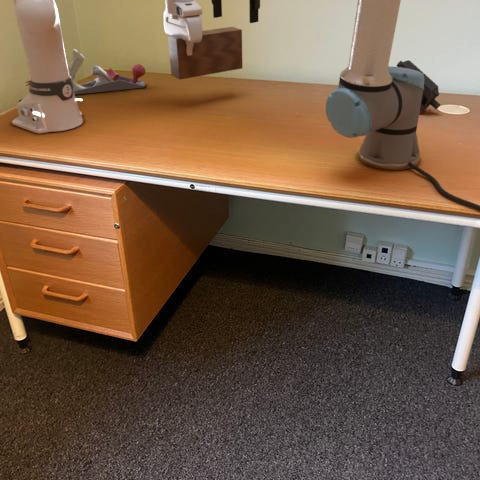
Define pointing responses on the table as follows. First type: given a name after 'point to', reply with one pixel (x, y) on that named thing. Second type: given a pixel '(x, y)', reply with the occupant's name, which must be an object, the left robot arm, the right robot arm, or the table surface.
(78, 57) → the hand plane
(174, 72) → the box
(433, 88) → the tool
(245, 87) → the table surface
